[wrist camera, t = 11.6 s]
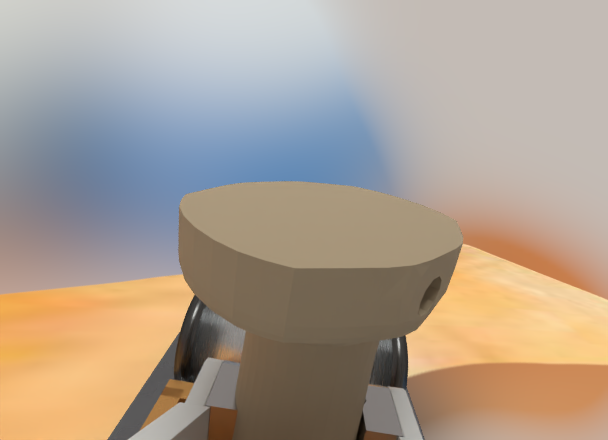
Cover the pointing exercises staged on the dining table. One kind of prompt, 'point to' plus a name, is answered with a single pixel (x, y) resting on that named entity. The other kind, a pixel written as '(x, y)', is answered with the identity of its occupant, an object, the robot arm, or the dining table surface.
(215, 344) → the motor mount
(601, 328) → the dining table surface
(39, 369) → the dining table surface
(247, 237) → the handle
